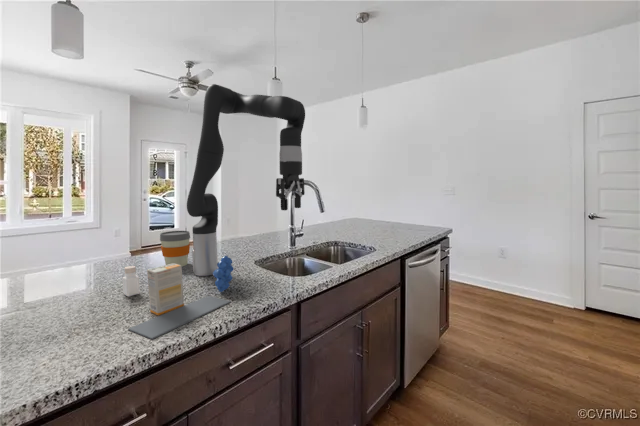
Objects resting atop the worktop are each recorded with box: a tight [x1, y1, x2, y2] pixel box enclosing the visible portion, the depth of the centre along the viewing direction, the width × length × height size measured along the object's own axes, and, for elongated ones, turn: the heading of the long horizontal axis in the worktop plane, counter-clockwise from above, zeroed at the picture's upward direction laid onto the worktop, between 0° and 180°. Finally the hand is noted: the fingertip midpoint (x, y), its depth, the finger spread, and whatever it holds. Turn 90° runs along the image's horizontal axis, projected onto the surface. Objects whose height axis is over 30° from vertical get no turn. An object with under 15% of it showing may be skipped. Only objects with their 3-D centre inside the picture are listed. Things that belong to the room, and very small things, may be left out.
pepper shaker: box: [122, 265, 141, 297], centre depth 104 cm, size 4×4×10 cm
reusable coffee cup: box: [159, 230, 191, 267], centre depth 140 cm, size 13×13×15 cm
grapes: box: [213, 255, 235, 293], centre depth 108 cm, size 12×7×12 cm, turn 174°
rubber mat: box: [128, 295, 231, 340], centre depth 88 cm, size 10×26×1 cm, turn 151°
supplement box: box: [146, 263, 185, 317], centre depth 91 cm, size 8×5×13 cm, turn 145°
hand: (291, 209), depth 103 cm, fingers open, 8 cm apart
